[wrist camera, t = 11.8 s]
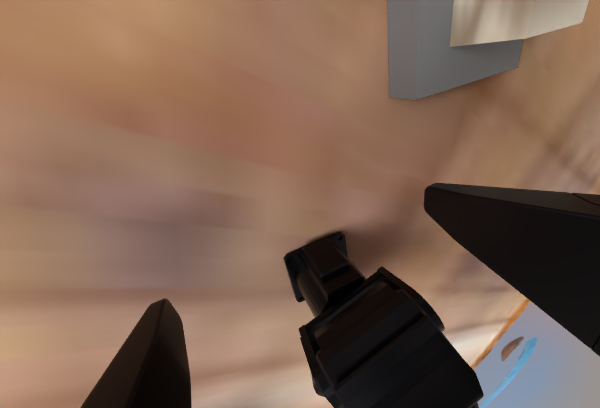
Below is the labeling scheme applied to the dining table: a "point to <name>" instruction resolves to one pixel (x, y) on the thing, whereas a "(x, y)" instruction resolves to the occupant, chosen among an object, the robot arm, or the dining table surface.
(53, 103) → the dining table surface
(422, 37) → the base
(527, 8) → the cube
